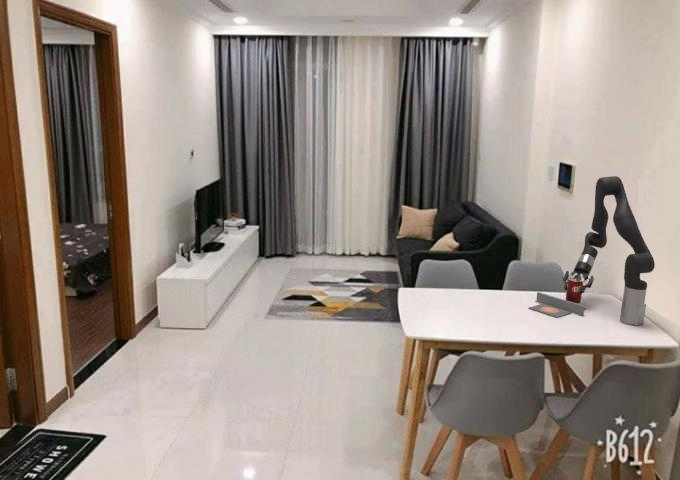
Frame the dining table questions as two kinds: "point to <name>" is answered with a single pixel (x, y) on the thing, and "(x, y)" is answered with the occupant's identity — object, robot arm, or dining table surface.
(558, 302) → the low wall
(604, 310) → the dining table surface
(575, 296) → the soda can
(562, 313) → the mat
